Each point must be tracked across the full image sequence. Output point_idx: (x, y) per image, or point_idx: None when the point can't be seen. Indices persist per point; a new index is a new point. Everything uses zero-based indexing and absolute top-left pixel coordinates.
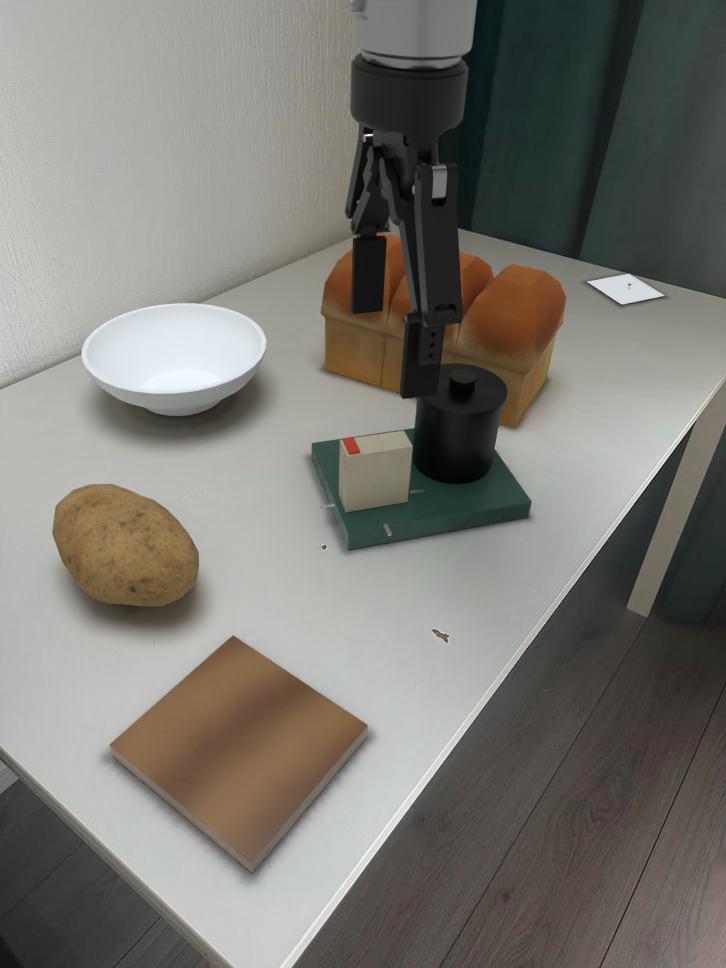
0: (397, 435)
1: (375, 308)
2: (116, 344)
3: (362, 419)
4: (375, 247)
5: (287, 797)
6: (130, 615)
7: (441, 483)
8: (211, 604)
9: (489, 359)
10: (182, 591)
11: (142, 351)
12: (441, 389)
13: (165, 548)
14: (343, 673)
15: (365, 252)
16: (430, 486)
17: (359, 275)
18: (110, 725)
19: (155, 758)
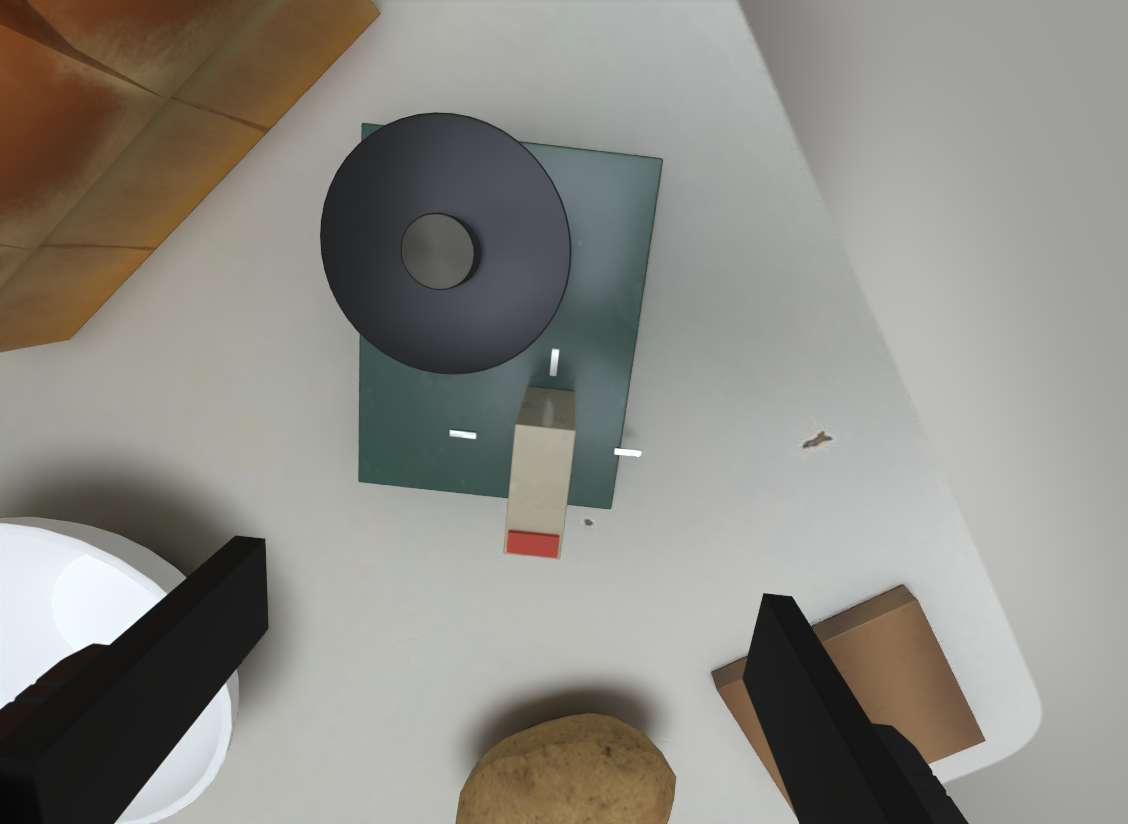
0: (528, 444)
1: (259, 569)
2: None
3: (271, 335)
4: (77, 774)
5: (947, 698)
6: None
7: None
8: (633, 678)
9: (235, 19)
10: (667, 763)
11: (11, 686)
12: (442, 311)
13: (641, 820)
14: (809, 576)
15: (102, 795)
16: (549, 332)
17: (179, 720)
18: (751, 792)
19: None
